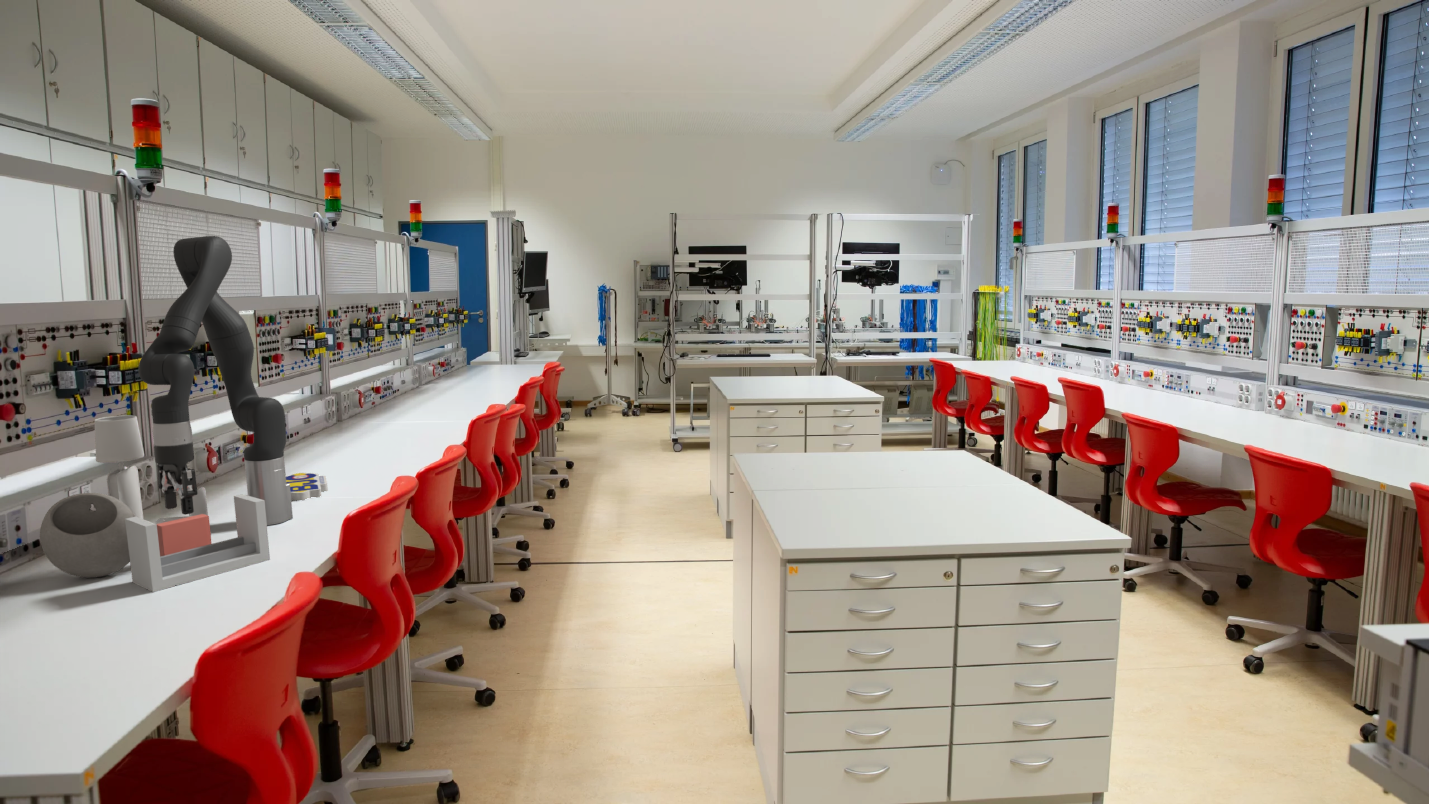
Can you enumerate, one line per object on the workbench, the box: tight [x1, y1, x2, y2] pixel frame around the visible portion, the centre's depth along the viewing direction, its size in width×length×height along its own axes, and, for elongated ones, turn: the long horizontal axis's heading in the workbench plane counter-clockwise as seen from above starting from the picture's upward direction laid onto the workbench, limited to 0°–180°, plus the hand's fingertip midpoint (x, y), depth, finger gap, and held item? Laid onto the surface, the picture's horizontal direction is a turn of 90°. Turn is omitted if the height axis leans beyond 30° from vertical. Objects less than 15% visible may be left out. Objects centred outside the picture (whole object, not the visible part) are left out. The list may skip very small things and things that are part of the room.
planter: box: [39, 492, 136, 579], centre depth 180 cm, size 18×7×19 cm, turn 105°
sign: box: [286, 472, 329, 501], centre depth 254 cm, size 28×3×20 cm
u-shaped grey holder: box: [125, 493, 271, 593], centre depth 184 cm, size 24×10×14 cm, turn 145°
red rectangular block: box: [157, 514, 213, 557], centre depth 193 cm, size 10×3×9 cm, turn 145°
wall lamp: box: [94, 414, 209, 524], centre depth 210 cm, size 10×21×30 cm, turn 101°
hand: (179, 510), depth 192 cm, fingers open, 8 cm apart
